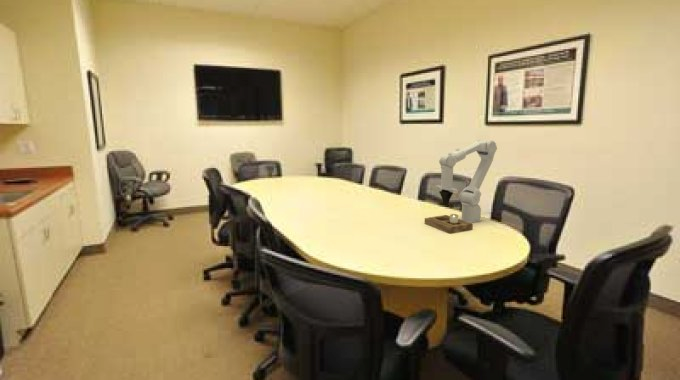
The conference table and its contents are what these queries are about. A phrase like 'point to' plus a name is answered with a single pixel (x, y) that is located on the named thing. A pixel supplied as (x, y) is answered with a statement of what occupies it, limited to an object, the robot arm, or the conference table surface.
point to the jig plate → (448, 224)
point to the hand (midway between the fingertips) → (445, 204)
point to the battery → (453, 219)
